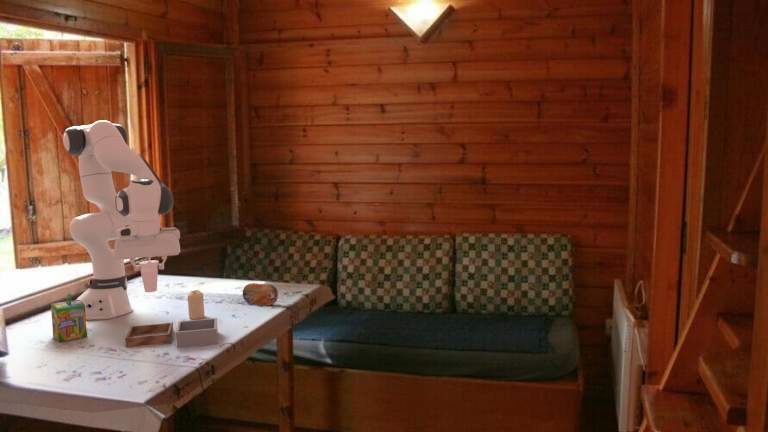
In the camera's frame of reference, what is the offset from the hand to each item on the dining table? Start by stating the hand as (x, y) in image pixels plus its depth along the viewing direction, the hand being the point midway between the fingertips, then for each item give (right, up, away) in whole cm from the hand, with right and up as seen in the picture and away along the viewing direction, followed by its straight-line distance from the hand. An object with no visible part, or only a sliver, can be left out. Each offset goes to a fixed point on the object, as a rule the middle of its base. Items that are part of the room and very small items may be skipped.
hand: (149, 270), depth 215 cm
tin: (+28, -17, +44) cm, 55 cm away
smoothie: (0, -7, +1) cm, 7 cm away
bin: (+16, -23, +1) cm, 28 cm away
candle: (+8, -20, +28) cm, 35 cm away
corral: (-1, -23, +3) cm, 23 cm away
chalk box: (-30, -24, +8) cm, 39 cm away
